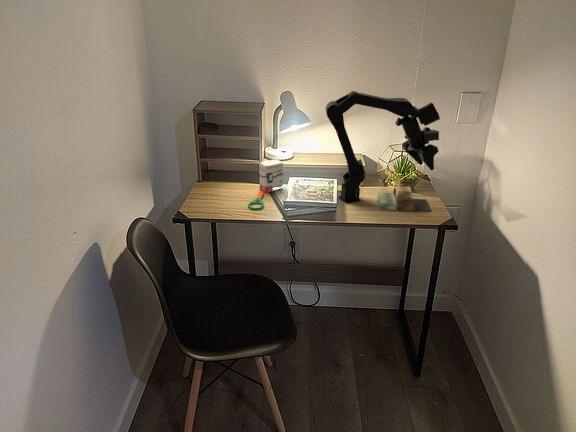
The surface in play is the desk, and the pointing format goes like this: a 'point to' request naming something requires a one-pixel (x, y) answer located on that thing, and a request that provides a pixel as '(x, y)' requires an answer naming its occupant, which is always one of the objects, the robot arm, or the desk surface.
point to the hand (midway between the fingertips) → (426, 167)
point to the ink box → (270, 175)
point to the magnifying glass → (257, 202)
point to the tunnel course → (401, 202)
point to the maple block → (403, 192)
